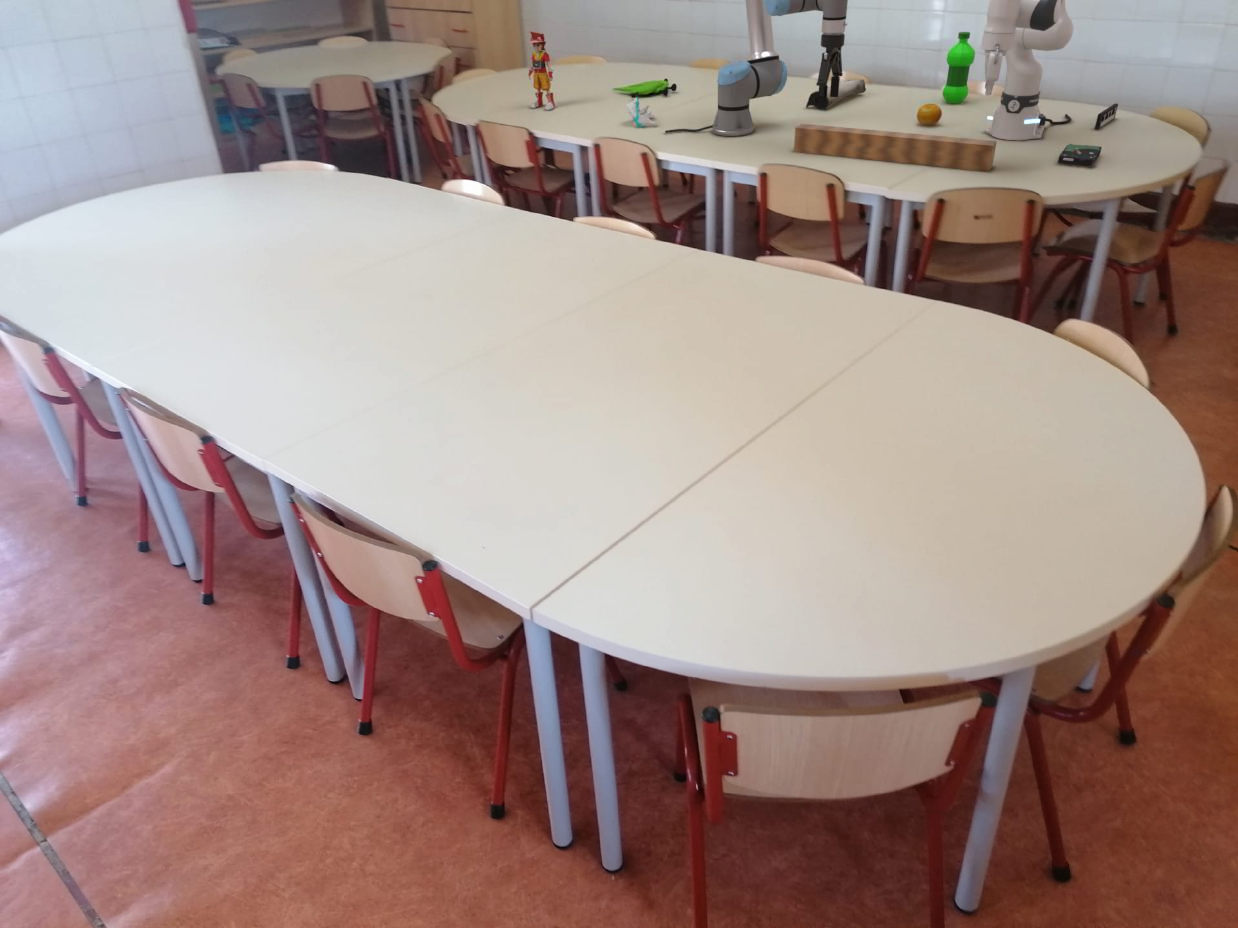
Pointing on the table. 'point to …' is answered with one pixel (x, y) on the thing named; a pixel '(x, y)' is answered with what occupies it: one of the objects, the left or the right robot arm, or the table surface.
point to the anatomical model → (640, 114)
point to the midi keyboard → (1106, 116)
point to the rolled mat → (844, 89)
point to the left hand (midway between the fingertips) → (828, 101)
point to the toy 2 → (648, 88)
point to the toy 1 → (541, 71)
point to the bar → (896, 147)
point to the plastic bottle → (958, 69)
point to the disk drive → (1079, 155)
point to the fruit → (929, 114)
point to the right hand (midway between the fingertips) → (987, 91)
